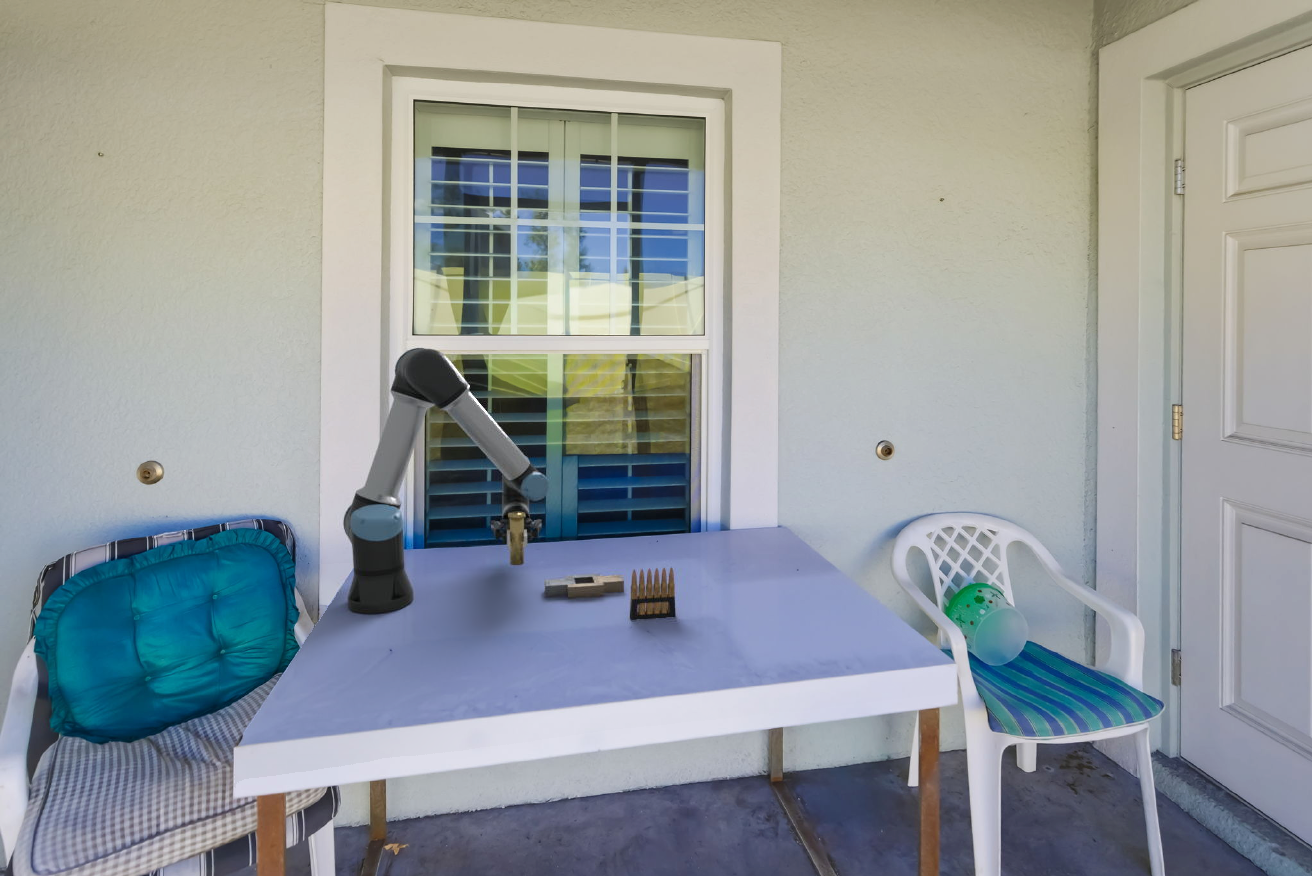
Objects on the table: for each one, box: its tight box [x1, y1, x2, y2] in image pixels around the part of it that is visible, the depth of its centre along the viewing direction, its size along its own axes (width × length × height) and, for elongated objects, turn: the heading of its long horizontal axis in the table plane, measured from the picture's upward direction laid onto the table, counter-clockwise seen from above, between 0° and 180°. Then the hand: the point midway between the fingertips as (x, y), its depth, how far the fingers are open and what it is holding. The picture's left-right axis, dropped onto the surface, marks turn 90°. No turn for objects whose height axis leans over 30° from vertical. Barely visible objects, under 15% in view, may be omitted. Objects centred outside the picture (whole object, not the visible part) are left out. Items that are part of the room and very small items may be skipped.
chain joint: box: [544, 573, 625, 600], centre depth 180 cm, size 20×9×3 cm, turn 102°
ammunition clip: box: [629, 566, 677, 621], centre depth 163 cm, size 11×2×12 cm, turn 100°
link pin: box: [508, 511, 525, 566], centre depth 174 cm, size 4×4×13 cm
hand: (517, 542), depth 169 cm, fingers closed on link pin, 3 cm apart
